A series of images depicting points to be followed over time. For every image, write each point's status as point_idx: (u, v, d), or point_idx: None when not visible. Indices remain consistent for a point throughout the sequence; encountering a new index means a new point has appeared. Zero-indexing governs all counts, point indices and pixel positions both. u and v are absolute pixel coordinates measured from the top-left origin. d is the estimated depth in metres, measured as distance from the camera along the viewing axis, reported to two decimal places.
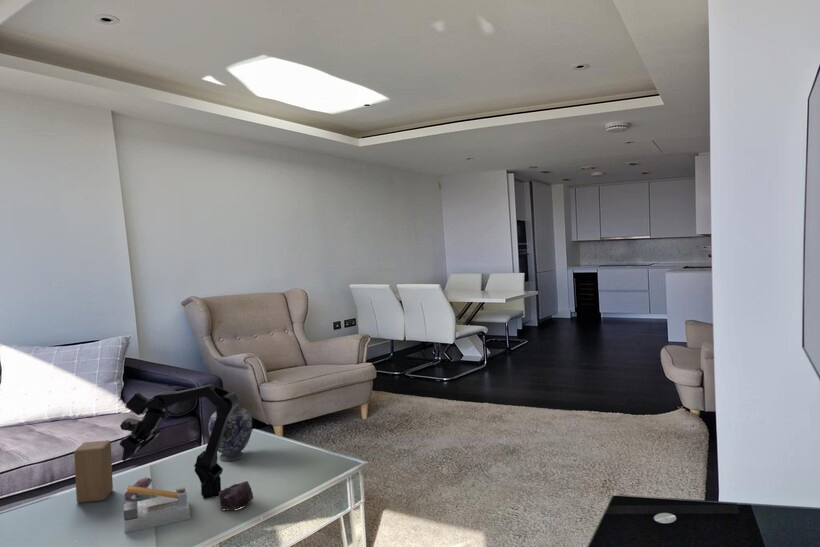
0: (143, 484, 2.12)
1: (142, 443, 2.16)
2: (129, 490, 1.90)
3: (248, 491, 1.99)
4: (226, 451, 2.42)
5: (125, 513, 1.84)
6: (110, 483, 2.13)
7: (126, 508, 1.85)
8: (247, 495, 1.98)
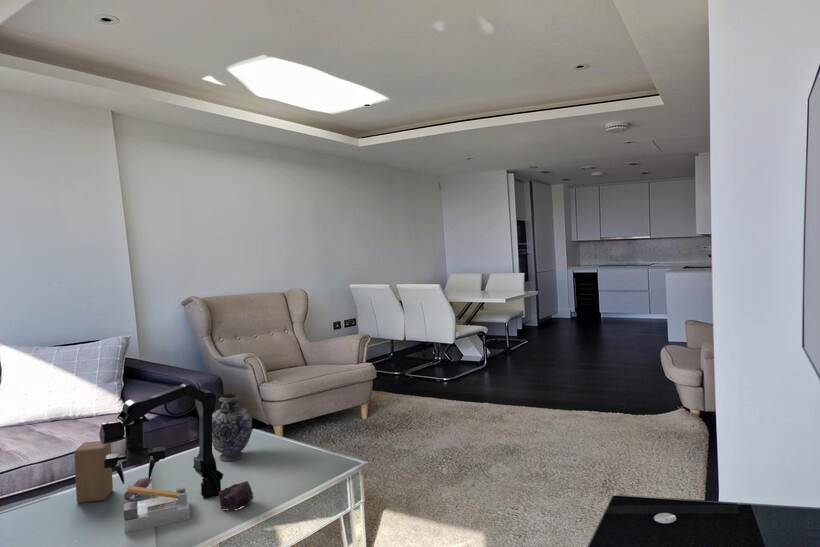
0: (143, 484, 2.12)
1: (122, 471, 1.91)
2: (129, 490, 1.90)
3: (248, 491, 2.00)
4: (226, 451, 2.42)
5: (125, 513, 1.84)
6: (110, 483, 2.13)
7: (126, 508, 1.85)
8: (247, 495, 1.98)
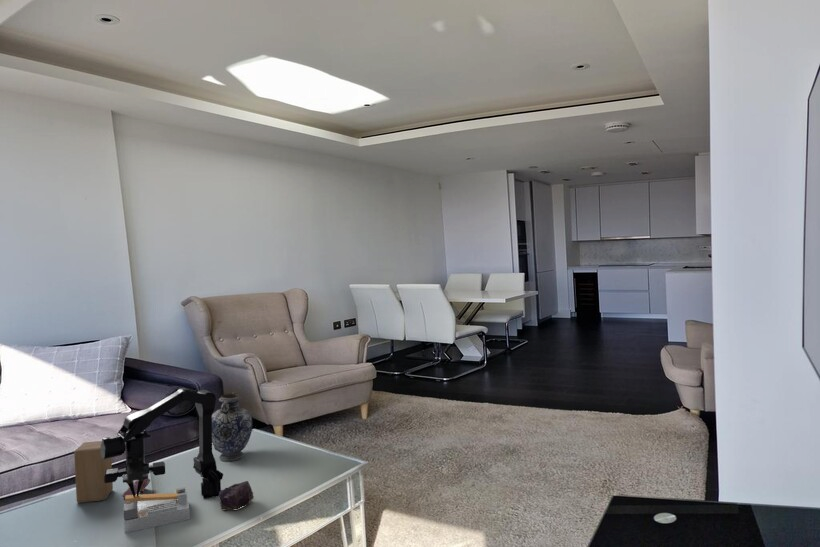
0: None
1: (133, 485, 1.92)
2: (127, 499, 1.90)
3: (248, 491, 2.00)
4: (226, 451, 2.42)
5: (125, 513, 1.84)
6: (110, 483, 2.13)
7: (126, 508, 1.85)
8: (247, 495, 1.98)
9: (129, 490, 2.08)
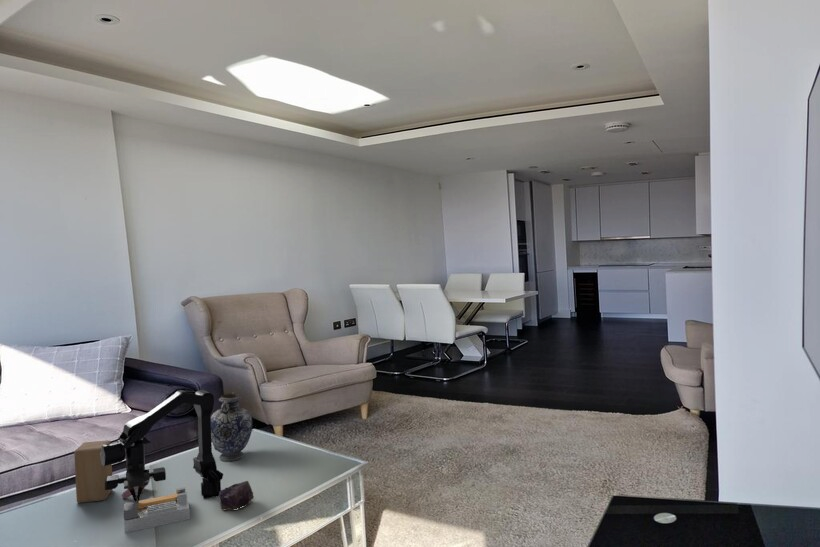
0: None
1: (135, 491, 1.93)
2: None
3: (248, 491, 2.00)
4: (226, 451, 2.42)
5: (125, 513, 1.84)
6: None
7: (126, 508, 1.85)
8: (247, 495, 1.98)
9: None
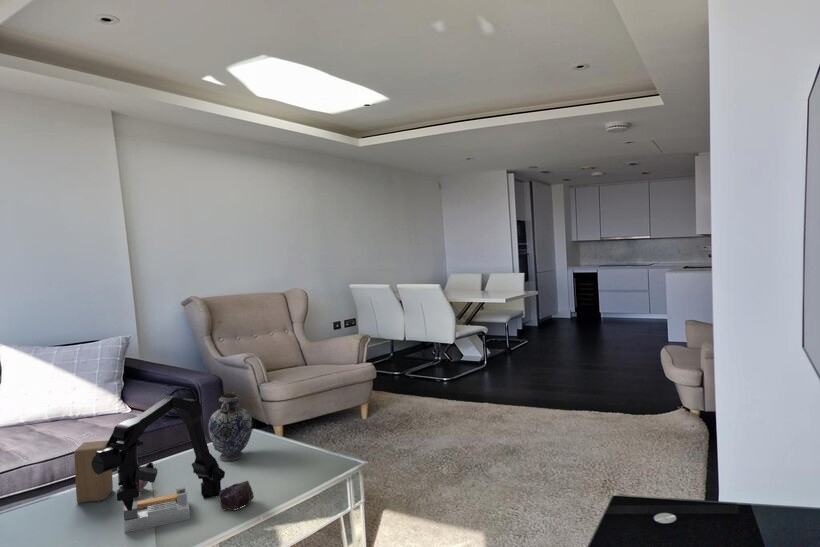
0: (140, 484, 2.12)
1: None
2: None
3: (248, 491, 2.00)
4: (226, 451, 2.42)
5: (125, 513, 1.84)
6: (110, 483, 2.13)
7: (126, 508, 1.85)
8: (247, 495, 1.98)
9: None
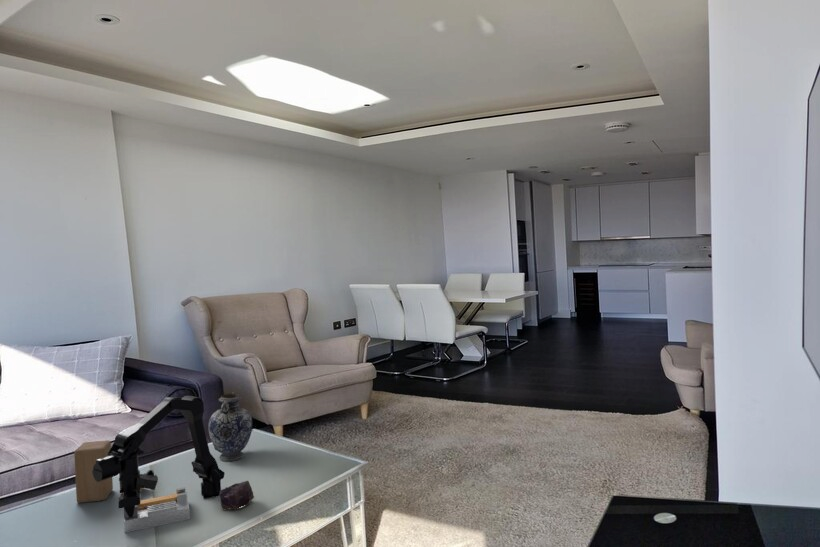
0: None
1: None
2: None
3: (248, 491, 2.00)
4: (226, 451, 2.42)
5: (125, 512, 1.85)
6: (110, 483, 2.13)
7: None
8: (247, 495, 1.98)
9: None
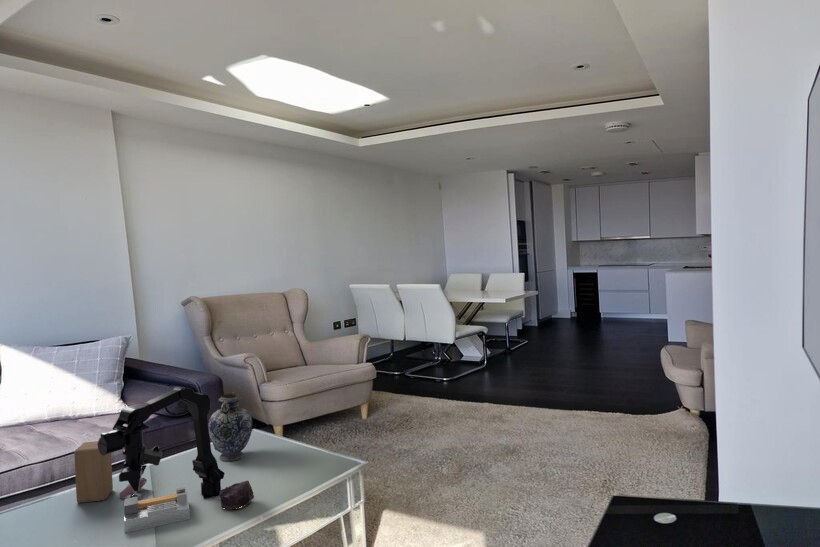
0: None
1: None
2: None
3: (248, 490, 2.00)
4: (226, 451, 2.42)
5: (125, 508, 1.87)
6: (110, 483, 2.13)
7: (127, 504, 1.88)
8: (247, 494, 1.99)
9: (126, 490, 2.08)
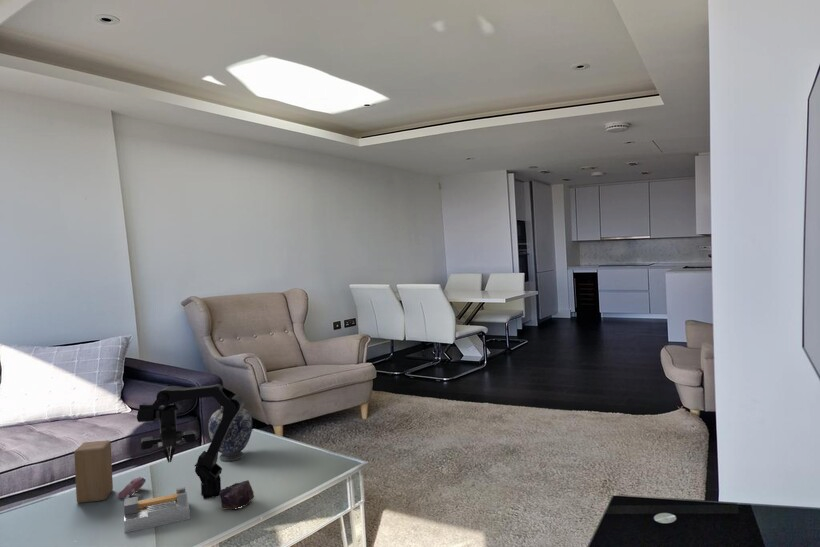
0: (137, 484, 2.13)
1: None
2: None
3: (248, 490, 2.00)
4: (226, 451, 2.42)
5: (125, 508, 1.87)
6: (110, 483, 2.13)
7: (127, 504, 1.88)
8: (247, 494, 1.99)
9: (125, 490, 2.08)
